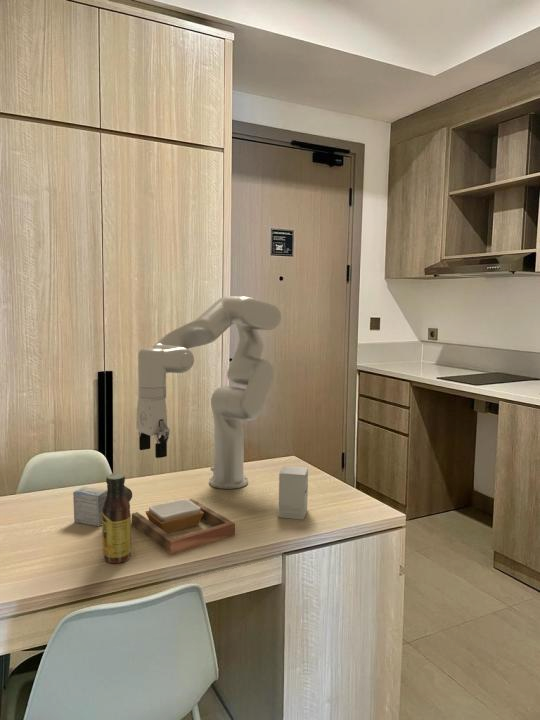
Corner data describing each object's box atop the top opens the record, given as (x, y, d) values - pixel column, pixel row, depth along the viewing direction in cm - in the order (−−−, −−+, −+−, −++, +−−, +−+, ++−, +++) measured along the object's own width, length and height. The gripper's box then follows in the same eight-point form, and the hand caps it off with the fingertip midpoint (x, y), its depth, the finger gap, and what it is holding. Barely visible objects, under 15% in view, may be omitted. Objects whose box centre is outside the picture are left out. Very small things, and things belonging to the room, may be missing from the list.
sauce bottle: (106, 552, 130) (104, 470, 128) (133, 551, 130) (132, 470, 128) (100, 566, 123) (98, 479, 121) (128, 565, 124) (127, 479, 122)
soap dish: (161, 537, 139) (160, 518, 138) (144, 524, 147) (144, 506, 146) (204, 525, 146) (204, 507, 146) (186, 513, 154) (186, 496, 154)
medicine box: (108, 521, 148) (108, 489, 147) (98, 527, 144) (97, 495, 143) (84, 516, 151) (83, 486, 150) (73, 523, 146) (72, 491, 146)
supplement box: (304, 520, 150) (305, 475, 149) (277, 517, 152) (278, 473, 150) (308, 510, 158) (308, 467, 156) (282, 507, 159) (283, 465, 158)
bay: (110, 524, 145) (109, 485, 144) (186, 505, 160) (186, 469, 158) (153, 560, 126) (152, 515, 125) (235, 534, 140) (235, 494, 139)
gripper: (126, 389, 157) (127, 448, 159) (154, 398, 143) (155, 462, 145) (150, 387, 161) (150, 444, 163) (180, 395, 148) (180, 458, 150)
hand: (152, 453), depth 154 cm, fingers open, 9 cm apart
